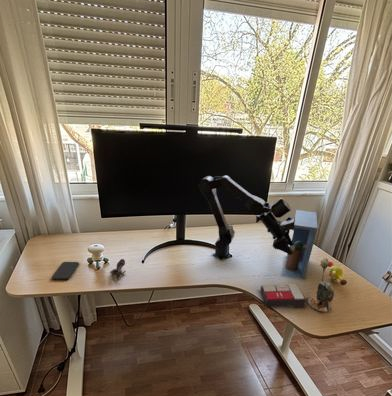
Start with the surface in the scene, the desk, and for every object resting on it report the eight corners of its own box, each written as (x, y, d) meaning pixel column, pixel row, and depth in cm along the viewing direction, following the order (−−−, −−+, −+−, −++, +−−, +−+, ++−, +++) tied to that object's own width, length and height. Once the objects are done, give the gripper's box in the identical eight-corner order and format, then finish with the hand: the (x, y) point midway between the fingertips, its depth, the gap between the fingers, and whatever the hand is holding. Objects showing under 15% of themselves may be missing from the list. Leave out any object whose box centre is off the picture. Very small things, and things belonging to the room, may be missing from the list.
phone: (79, 261, 136) (68, 278, 123) (79, 263, 136) (69, 279, 123) (63, 261, 135) (50, 278, 123) (63, 263, 136) (51, 279, 123)
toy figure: (320, 270, 137) (324, 257, 134) (332, 271, 137) (336, 258, 134) (334, 292, 122) (339, 278, 118) (347, 292, 122) (352, 278, 118)
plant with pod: (312, 315, 108) (327, 268, 97) (305, 298, 118) (317, 253, 107) (334, 317, 108) (351, 269, 97) (325, 299, 117) (340, 254, 107)
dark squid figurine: (131, 276, 126) (129, 263, 132) (121, 266, 121) (119, 253, 127) (117, 285, 127) (115, 272, 133) (106, 276, 122) (105, 262, 128)
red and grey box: (260, 283, 119) (297, 282, 119) (259, 292, 121) (295, 291, 121) (266, 299, 110) (306, 298, 110) (265, 308, 112) (304, 307, 112)
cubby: (283, 275, 132) (294, 224, 119) (286, 256, 149) (296, 209, 136) (303, 279, 130) (317, 228, 117) (304, 259, 147) (316, 212, 134)
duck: (284, 269, 137) (290, 242, 129) (285, 263, 142) (290, 237, 134) (300, 271, 135) (307, 244, 128) (300, 266, 140) (307, 239, 132)
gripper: (285, 220, 119) (307, 248, 122) (288, 206, 134) (307, 232, 137) (263, 235, 125) (285, 262, 128) (268, 221, 140) (287, 245, 143)
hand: (292, 250), depth 134 cm, fingers open, 9 cm apart
